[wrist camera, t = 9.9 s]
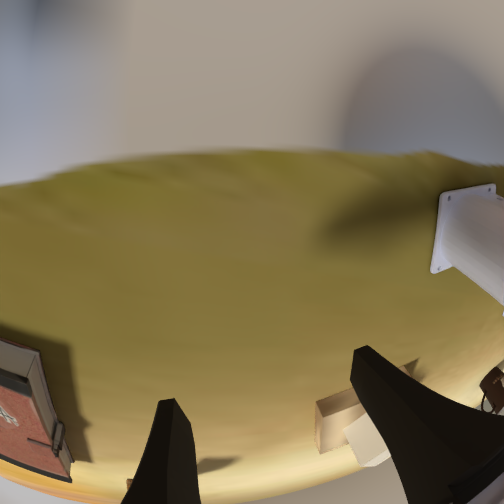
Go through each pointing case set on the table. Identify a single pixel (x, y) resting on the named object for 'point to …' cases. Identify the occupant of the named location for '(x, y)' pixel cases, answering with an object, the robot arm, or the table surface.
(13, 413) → the book
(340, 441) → the oak block
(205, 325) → the table surface
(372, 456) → the white block
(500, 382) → the coffee mug
